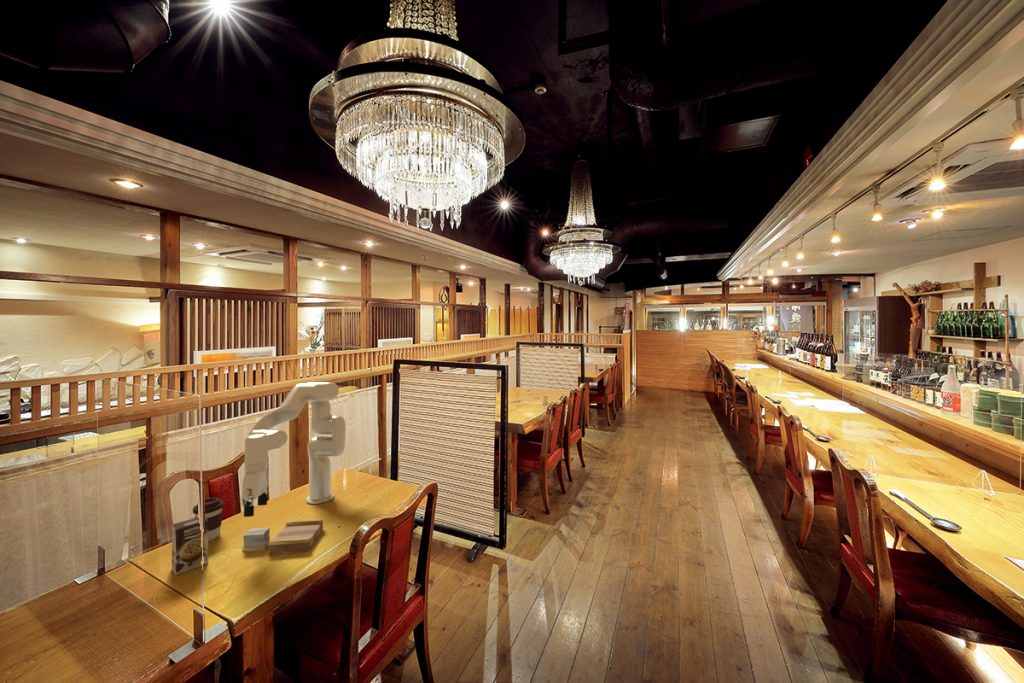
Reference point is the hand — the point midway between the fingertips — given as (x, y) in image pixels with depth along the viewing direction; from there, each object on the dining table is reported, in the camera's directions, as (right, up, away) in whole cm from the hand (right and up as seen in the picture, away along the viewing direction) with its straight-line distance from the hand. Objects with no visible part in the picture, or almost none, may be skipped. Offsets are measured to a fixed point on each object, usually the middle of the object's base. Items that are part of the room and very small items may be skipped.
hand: (255, 510), depth 145 cm
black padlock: (0, -15, +1) cm, 15 cm away
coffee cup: (-24, -15, +7) cm, 29 cm away
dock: (+14, -15, +5) cm, 20 cm away
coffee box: (-15, -15, -12) cm, 24 cm away
